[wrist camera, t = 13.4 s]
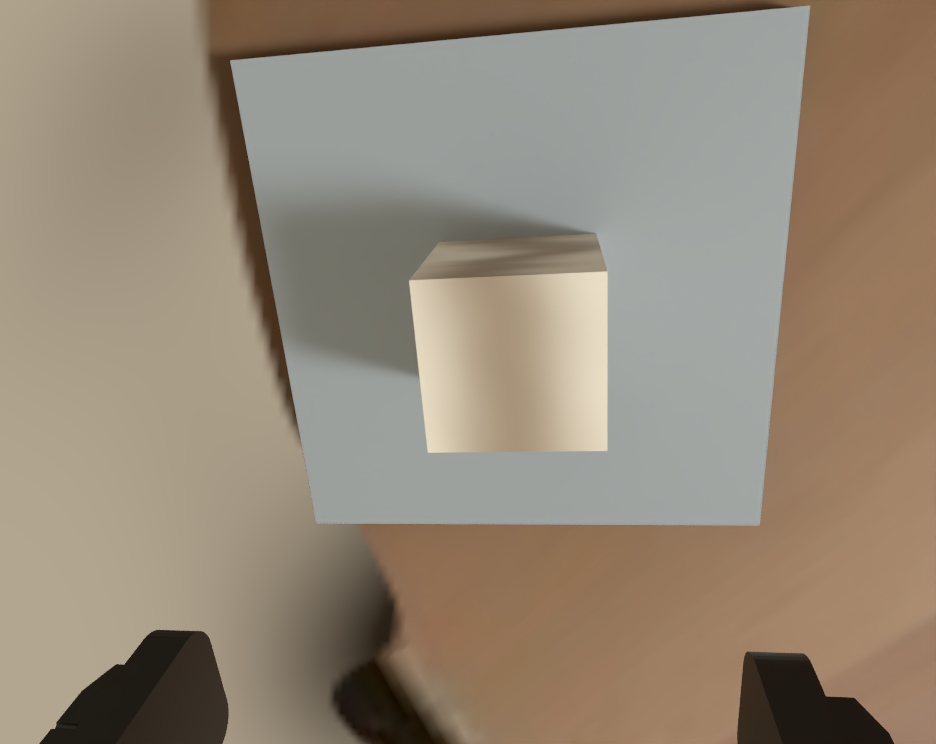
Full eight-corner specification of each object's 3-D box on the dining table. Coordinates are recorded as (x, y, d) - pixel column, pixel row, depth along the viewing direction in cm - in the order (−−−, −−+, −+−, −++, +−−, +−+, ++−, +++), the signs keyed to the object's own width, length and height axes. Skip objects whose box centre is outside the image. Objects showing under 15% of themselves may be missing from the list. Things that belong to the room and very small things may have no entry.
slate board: (800, 9, 23) (810, 5, 22) (753, 512, 30) (759, 525, 29) (241, 61, 26) (230, 60, 25) (322, 511, 33) (316, 523, 32)
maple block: (595, 233, 26) (607, 271, 20) (597, 380, 28) (607, 451, 22) (439, 241, 26) (408, 280, 21) (452, 383, 29) (427, 452, 23)
